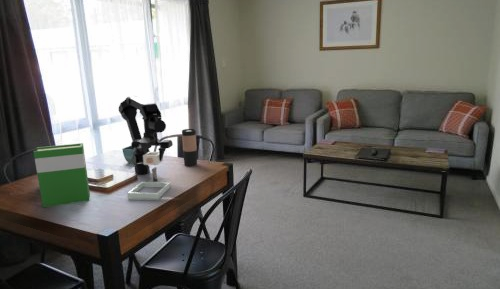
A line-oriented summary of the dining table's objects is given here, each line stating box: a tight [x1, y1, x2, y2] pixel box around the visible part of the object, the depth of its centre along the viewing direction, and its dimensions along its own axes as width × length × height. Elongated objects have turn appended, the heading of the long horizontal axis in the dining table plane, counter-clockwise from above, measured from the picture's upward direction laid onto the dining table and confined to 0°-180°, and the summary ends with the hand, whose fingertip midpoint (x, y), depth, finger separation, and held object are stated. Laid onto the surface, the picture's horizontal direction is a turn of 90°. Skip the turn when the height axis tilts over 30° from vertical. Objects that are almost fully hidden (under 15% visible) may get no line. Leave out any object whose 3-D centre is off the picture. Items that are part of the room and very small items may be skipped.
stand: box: [144, 166, 170, 183], centre depth 174 cm, size 10×10×7 cm
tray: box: [127, 181, 171, 201], centre depth 160 cm, size 14×14×3 cm
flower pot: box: [122, 145, 134, 164], centre depth 209 cm, size 9×9×9 cm
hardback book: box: [33, 142, 91, 208], centre depth 152 cm, size 18×7×24 cm, turn 111°
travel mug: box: [181, 128, 198, 167], centre depth 201 cm, size 8×8×20 cm
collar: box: [143, 151, 164, 166], centre depth 172 cm, size 7×9×4 cm
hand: (153, 160), depth 173 cm, fingers closed on collar, 7 cm apart
